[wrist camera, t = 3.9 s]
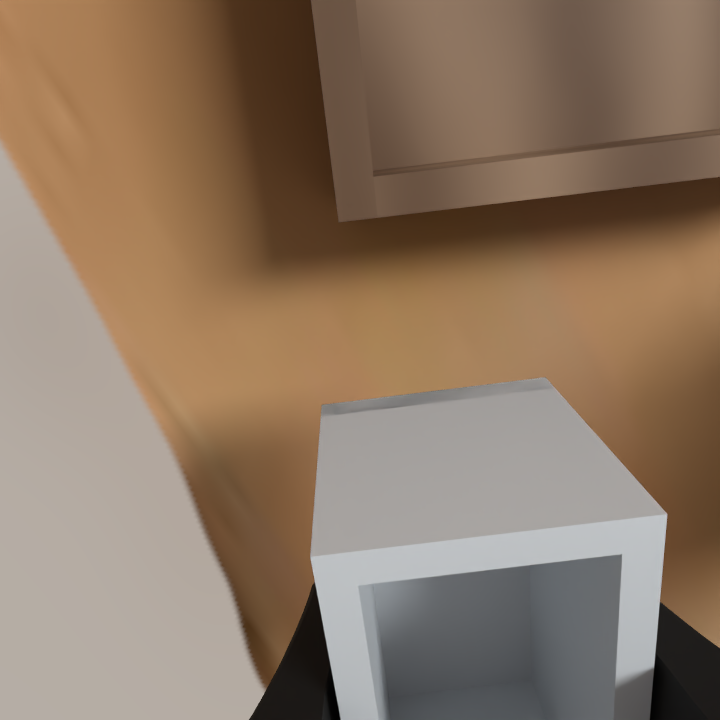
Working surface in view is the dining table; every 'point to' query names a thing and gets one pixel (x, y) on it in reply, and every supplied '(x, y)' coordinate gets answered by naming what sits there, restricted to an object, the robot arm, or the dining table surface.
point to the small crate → (483, 560)
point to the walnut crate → (514, 99)
